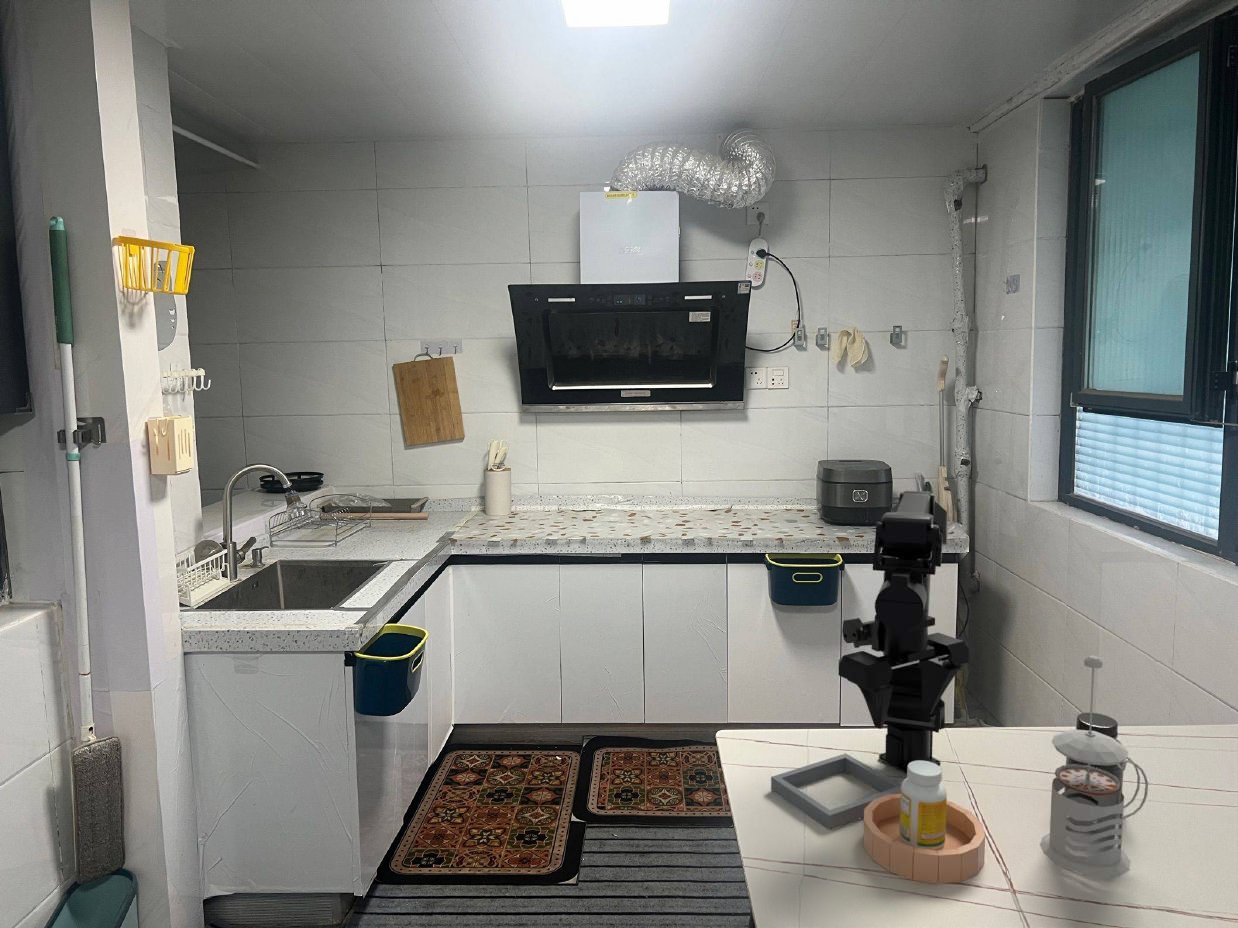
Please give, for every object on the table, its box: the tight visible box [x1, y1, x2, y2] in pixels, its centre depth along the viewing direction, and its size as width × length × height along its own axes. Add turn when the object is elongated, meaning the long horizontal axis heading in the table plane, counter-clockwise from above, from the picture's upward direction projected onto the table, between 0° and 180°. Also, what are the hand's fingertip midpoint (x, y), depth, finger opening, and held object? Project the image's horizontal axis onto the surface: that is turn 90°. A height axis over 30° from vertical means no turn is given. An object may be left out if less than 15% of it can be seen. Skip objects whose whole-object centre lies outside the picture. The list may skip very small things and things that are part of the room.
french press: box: [1039, 655, 1149, 878], centre depth 103 cm, size 10×12×25 cm
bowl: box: [863, 794, 986, 885], centre depth 106 cm, size 14×14×4 cm
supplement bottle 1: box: [900, 760, 948, 850], centre depth 105 cm, size 5×5×10 cm
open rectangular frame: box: [770, 752, 902, 831], centre depth 119 cm, size 14×12×2 cm
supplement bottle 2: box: [1063, 712, 1125, 805], centre depth 115 cm, size 7×7×12 cm
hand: (903, 719), depth 115 cm, fingers open, 9 cm apart
